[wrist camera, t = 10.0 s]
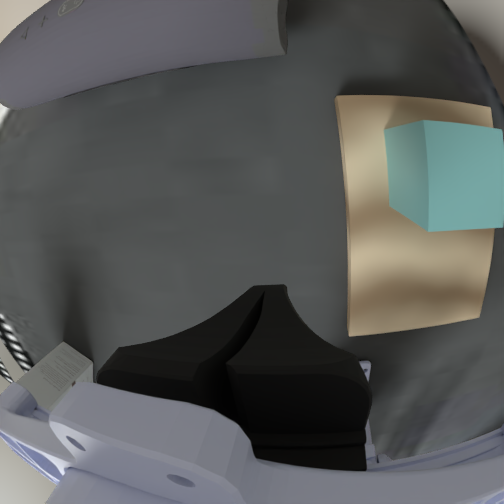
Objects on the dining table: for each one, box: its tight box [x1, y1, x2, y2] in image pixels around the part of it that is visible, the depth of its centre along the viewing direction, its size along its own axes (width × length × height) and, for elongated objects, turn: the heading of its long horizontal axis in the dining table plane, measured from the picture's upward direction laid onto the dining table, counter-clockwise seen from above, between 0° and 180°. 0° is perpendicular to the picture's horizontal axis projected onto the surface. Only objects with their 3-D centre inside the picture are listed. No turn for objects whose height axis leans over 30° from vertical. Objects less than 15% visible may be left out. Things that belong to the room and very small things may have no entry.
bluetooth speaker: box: [0, 0, 288, 110], centre depth 13 cm, size 23×9×10 cm, turn 88°
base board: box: [334, 95, 495, 337], centre depth 18 cm, size 18×13×2 cm
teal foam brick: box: [384, 120, 504, 232], centre depth 13 cm, size 5×5×7 cm
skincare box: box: [16, 341, 93, 412], centre depth 25 cm, size 8×6×15 cm
